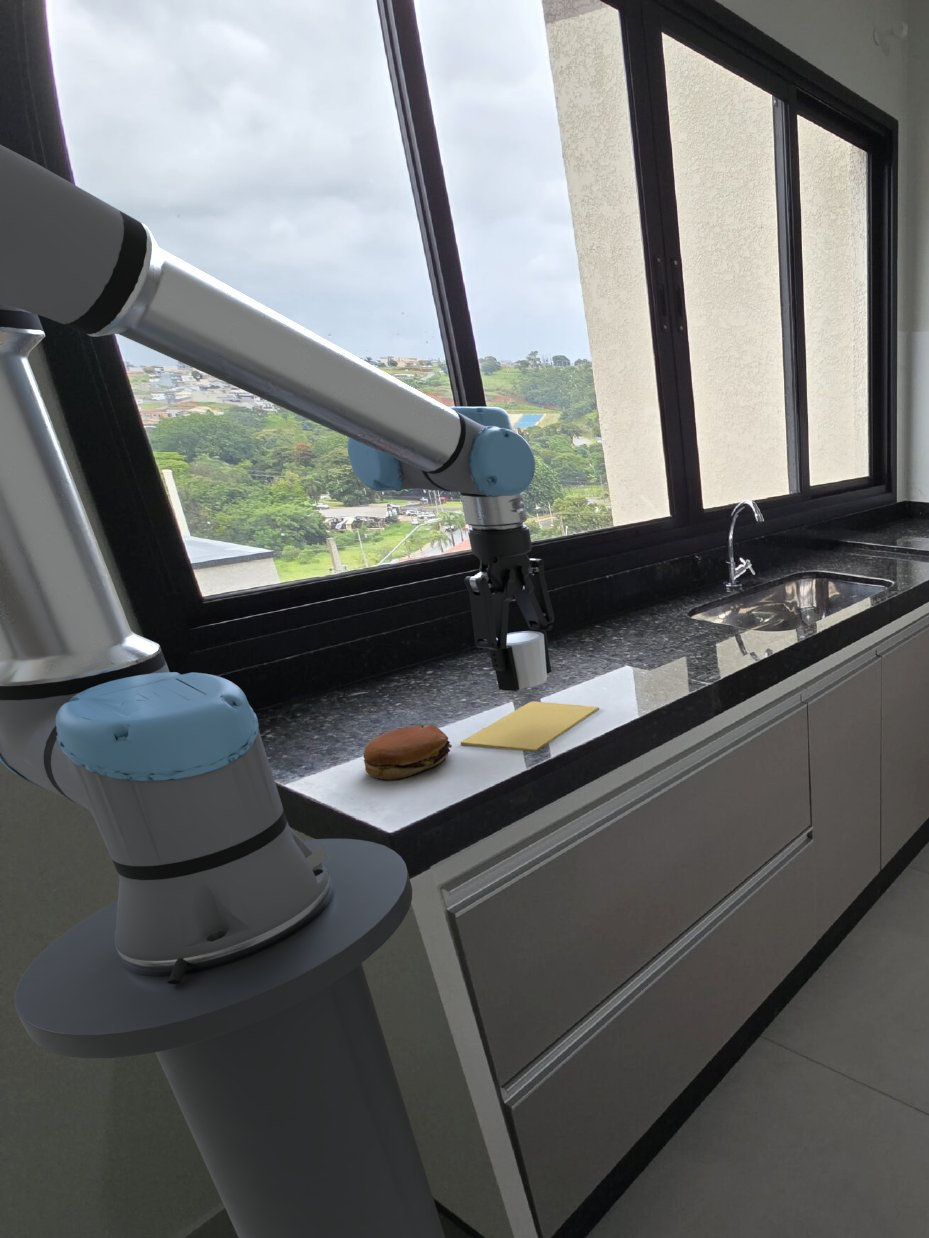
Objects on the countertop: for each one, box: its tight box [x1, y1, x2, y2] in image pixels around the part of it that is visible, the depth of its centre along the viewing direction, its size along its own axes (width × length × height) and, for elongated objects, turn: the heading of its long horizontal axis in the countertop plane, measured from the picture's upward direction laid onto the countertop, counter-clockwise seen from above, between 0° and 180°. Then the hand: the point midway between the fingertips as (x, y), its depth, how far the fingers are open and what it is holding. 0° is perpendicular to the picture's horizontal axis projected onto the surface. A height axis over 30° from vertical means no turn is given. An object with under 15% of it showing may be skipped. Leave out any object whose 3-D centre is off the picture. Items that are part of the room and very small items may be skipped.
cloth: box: [459, 700, 600, 752], centre depth 113 cm, size 16×12×1 cm
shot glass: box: [496, 630, 548, 690], centre depth 110 cm, size 7×7×7 cm
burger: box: [363, 724, 453, 781], centre depth 100 cm, size 10×9×5 cm
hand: (526, 680), depth 111 cm, fingers closed on shot glass, 7 cm apart
